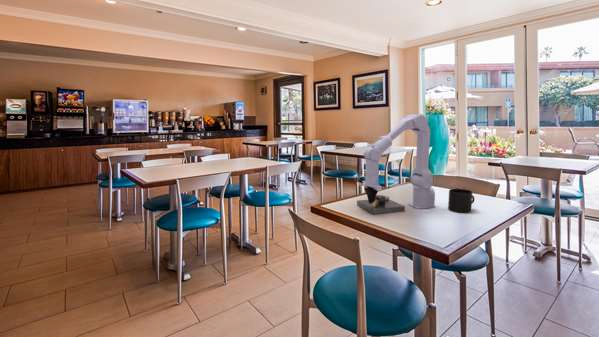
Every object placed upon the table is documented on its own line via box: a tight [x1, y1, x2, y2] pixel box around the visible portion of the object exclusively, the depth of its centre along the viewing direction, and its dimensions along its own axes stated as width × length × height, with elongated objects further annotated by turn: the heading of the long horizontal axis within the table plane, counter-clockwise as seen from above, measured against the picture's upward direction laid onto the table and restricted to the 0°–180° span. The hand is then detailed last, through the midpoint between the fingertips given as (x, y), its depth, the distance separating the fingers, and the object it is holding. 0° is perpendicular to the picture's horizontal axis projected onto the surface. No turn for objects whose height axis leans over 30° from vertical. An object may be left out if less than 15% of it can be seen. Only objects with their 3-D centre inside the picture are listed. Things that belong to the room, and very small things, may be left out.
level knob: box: [373, 194, 386, 206], centre depth 148 cm, size 10×5×3 cm, turn 146°
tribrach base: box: [356, 196, 406, 215], centre depth 151 cm, size 16×16×4 cm
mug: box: [448, 188, 475, 214], centre depth 146 cm, size 9×12×9 cm
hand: (371, 203), depth 146 cm, fingers closed
